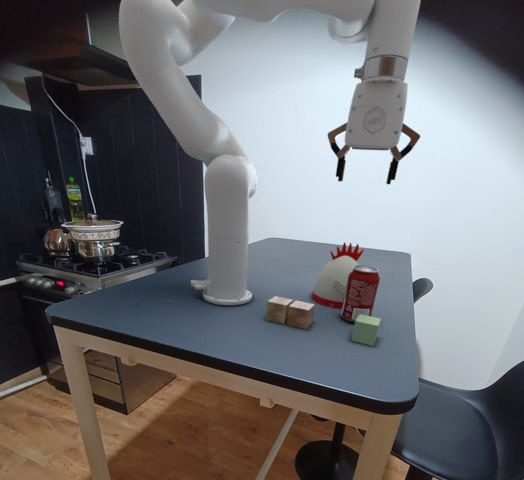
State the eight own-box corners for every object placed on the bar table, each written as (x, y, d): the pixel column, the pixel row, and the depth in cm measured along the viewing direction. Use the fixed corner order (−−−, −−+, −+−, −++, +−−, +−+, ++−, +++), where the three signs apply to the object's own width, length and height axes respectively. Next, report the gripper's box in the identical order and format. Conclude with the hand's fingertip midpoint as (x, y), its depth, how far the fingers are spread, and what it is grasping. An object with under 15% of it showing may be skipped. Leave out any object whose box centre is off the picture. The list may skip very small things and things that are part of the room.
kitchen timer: (369, 310, 81) (383, 249, 74) (315, 306, 81) (325, 245, 74) (356, 293, 93) (367, 240, 86) (309, 290, 93) (317, 236, 86)
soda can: (370, 326, 71) (383, 273, 66) (340, 322, 72) (350, 270, 67) (367, 316, 77) (379, 266, 71) (339, 312, 78) (349, 263, 72)
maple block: (265, 319, 71) (267, 301, 69) (273, 313, 74) (275, 295, 72) (284, 324, 69) (286, 305, 67) (291, 318, 73) (293, 299, 71)
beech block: (286, 325, 69) (288, 305, 67) (293, 318, 72) (295, 300, 70) (305, 329, 67) (308, 310, 65) (312, 322, 71) (314, 304, 69)
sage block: (350, 340, 64) (355, 320, 62) (355, 333, 68) (359, 313, 65) (373, 346, 62) (378, 325, 60) (376, 338, 66) (381, 318, 64)
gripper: (333, 70, 56) (319, 179, 64) (438, 68, 52) (410, 185, 60) (337, 82, 63) (324, 180, 71) (431, 81, 59) (406, 185, 67)
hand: (363, 182), depth 65 cm, fingers open, 9 cm apart
